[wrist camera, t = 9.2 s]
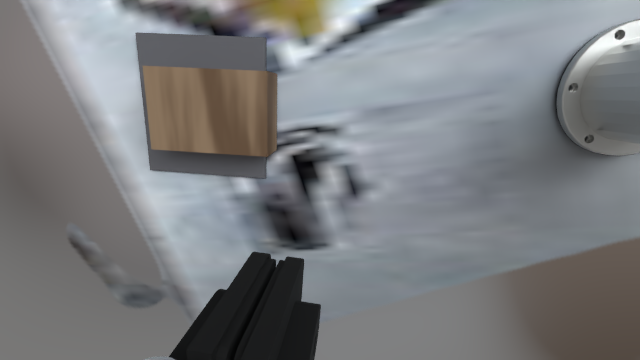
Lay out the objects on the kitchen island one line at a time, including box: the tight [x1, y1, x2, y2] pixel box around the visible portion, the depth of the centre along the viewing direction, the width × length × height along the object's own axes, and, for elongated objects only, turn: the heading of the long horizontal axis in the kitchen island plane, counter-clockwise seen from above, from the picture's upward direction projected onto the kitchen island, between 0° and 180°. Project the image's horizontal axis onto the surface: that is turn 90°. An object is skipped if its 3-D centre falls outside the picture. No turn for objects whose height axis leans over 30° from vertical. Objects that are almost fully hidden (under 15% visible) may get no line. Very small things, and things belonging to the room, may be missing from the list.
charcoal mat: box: [136, 33, 266, 178], centre depth 34 cm, size 14×15×1 cm
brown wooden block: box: [143, 66, 277, 157], centre depth 31 cm, size 4×8×12 cm
